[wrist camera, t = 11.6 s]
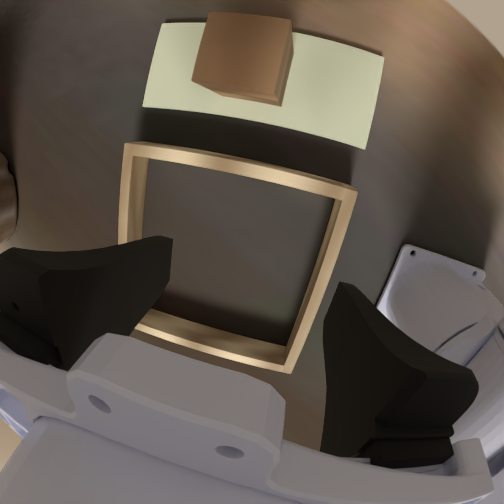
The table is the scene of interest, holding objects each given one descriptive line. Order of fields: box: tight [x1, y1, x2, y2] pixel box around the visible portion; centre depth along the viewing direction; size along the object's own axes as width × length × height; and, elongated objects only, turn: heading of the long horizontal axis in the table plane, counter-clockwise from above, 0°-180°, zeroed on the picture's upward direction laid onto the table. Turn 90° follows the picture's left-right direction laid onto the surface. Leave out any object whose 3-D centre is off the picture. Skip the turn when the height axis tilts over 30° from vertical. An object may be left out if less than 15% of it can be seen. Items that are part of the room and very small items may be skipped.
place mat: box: [143, 23, 384, 149], centre depth 16 cm, size 16×7×1 cm, turn 79°
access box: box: [118, 141, 358, 374], centre depth 21 cm, size 16×16×2 cm
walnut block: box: [191, 11, 294, 107], centre depth 13 cm, size 4×4×6 cm
